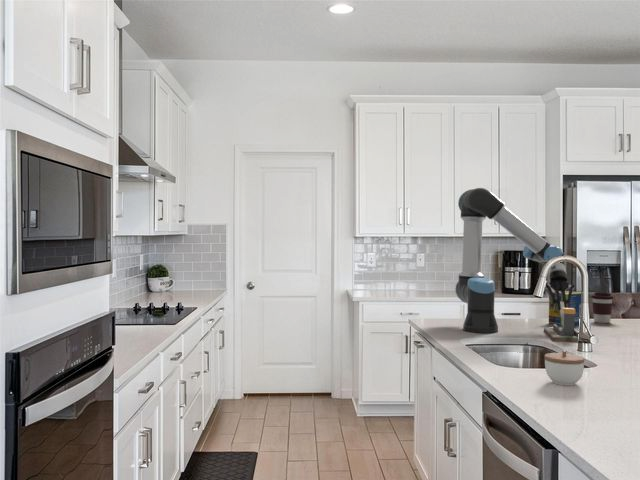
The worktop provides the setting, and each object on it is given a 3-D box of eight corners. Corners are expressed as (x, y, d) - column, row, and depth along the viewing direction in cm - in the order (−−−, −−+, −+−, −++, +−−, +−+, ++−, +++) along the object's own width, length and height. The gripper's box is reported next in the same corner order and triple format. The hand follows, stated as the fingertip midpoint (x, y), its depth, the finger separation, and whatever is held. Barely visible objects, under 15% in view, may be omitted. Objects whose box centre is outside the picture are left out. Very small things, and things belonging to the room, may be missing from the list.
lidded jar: (564, 389, 161) (565, 355, 161) (536, 380, 171) (536, 348, 171) (592, 385, 165) (593, 353, 165) (563, 377, 175) (563, 346, 175)
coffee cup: (608, 320, 294) (608, 291, 294) (616, 323, 284) (616, 293, 284) (588, 320, 295) (588, 291, 295) (595, 323, 285) (595, 293, 285)
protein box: (548, 323, 283) (548, 292, 283) (567, 321, 292) (567, 290, 292) (567, 326, 275) (567, 294, 274) (586, 324, 283) (586, 292, 283)
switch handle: (563, 335, 239) (563, 308, 239) (561, 333, 244) (561, 307, 244) (575, 335, 238) (575, 309, 238) (573, 334, 243) (573, 308, 243)
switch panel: (552, 340, 236) (552, 332, 236) (544, 330, 261) (544, 323, 261) (589, 342, 233) (589, 333, 233) (577, 332, 258) (577, 324, 258)
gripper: (571, 280, 271) (577, 321, 255) (542, 279, 274) (546, 319, 258) (573, 269, 266) (580, 310, 249) (543, 269, 269) (548, 309, 253)
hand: (563, 315), depth 254 cm, fingers closed
